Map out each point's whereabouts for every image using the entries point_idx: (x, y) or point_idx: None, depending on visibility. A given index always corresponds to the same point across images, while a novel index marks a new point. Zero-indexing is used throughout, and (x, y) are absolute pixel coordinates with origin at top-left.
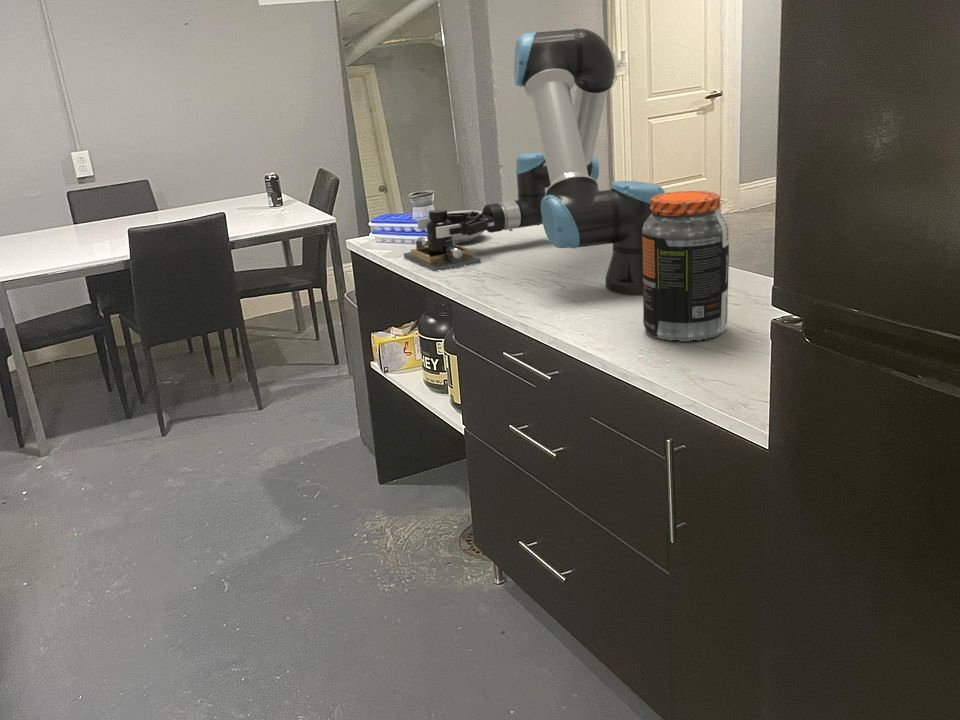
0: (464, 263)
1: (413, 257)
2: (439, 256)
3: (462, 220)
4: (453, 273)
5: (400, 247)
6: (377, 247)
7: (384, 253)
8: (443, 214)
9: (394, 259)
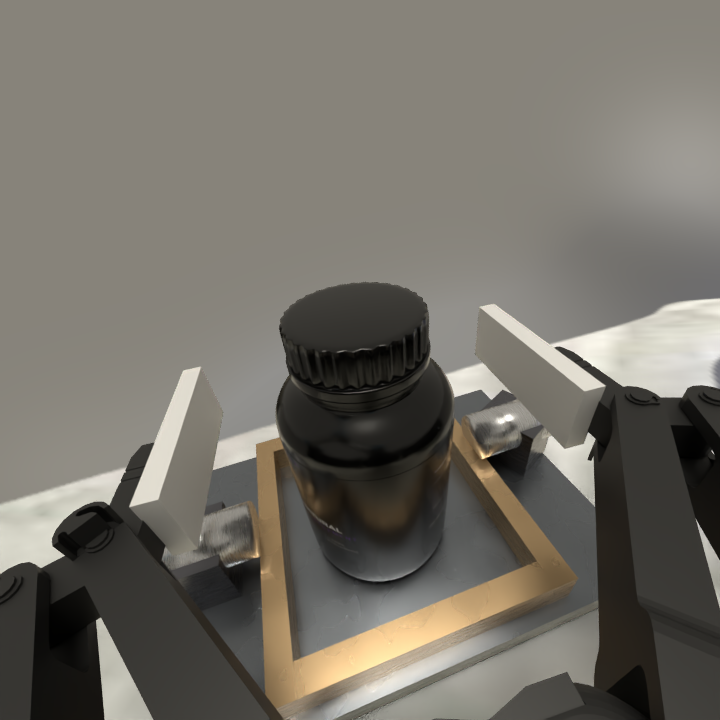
0: None
1: None
2: (258, 482)
3: (614, 627)
4: None
5: (668, 391)
6: (654, 340)
7: None
8: (288, 353)
9: (462, 380)
